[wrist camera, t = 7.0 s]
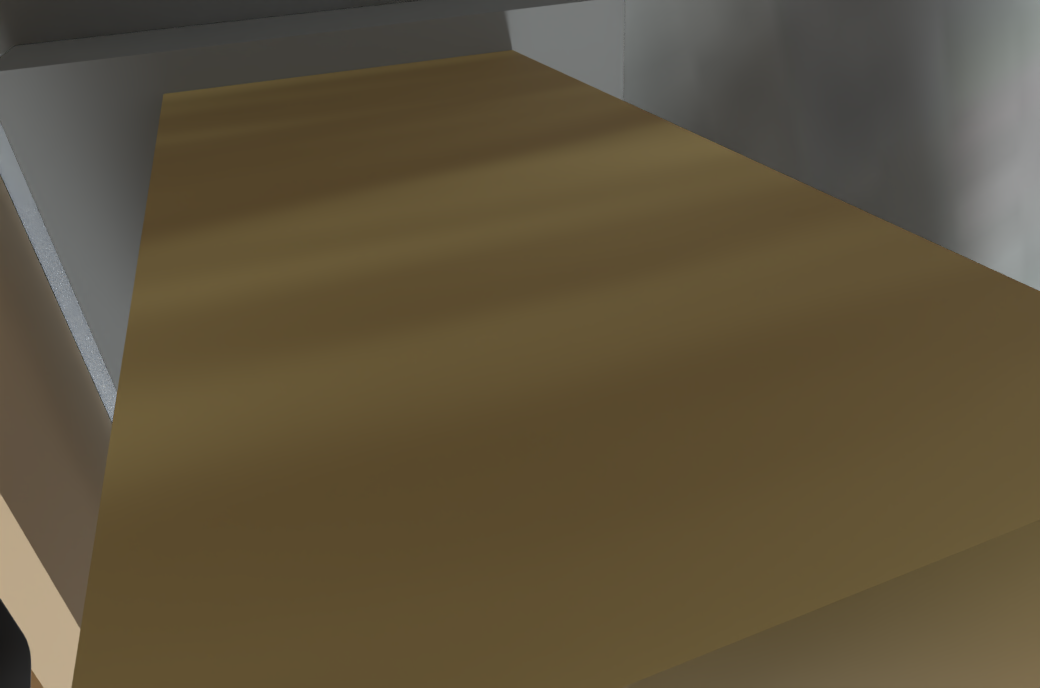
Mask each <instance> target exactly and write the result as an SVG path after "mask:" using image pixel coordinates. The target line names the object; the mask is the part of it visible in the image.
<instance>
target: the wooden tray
mask: <svg viewBox="0 0 1040 688" xmlns="http://www.w3.org/2000/svg"><path fill="white" fill-rule="evenodd" d="M111 429H112V423H111V421H110V418H109V416H108V414H107V412H106V409H105V407H104V405H103V403H102V401H101V398H100V396H99V394H98V392H97V389H96V387H95V385H94V383H93V381H92V378H91V376H90V374H89V372H88V369H87V367H86V365H85V363H84V361H83V358H82V356H81V354H80V352H79V349H78V347H77V345H76V343H75V340H74V338H73V336H72V334H71V332H70V329H69V327H68V325H67V323H66V320H65V318H64V316H63V314H62V312H61V309H60V307H59V305H58V303H57V300H56V298H55V296H54V294H53V292H52V289H51V287H50V285H49V283H48V280H47V278H46V276H45V274H44V272H43V269H42V267H41V265H40V263H39V260H38V258H37V256H36V254H35V252H34V249H33V247H32V245H31V243H30V240H29V238H28V236H27V234H26V231H25V229H24V227H23V225H22V223H21V220H20V218H19V216H18V214H17V211H16V209H15V207H14V205H13V203H12V200H11V198H10V196H9V194H8V191H7V189H6V187H5V185H4V183H3V180H2V178H1V176H0V599H1V600H2V602H3V603H4V605H5V606H6V608H7V609H8V611H9V612H10V614H11V615H12V617H13V618H14V620H15V621H16V623H17V625H18V626H19V628H20V629H21V631H22V632H23V634H24V635H25V637H26V639H27V642H28V645H29V648H30V653H31V688H71V687H72V681H73V674H74V668H75V661H76V655H77V648H78V642H79V636H80V629H81V623H82V616H83V610H84V603H85V597H86V590H87V584H88V577H89V571H90V565H91V558H92V552H93V545H94V539H95V532H96V526H97V519H98V513H99V506H100V500H101V494H102V487H103V481H104V474H105V468H106V461H107V455H108V448H109V442H110V435H111Z"/></svg>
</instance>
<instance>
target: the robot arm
mask: <svg viewBox="0 0 1040 688" xmlns="http://www.w3.org/2000/svg"><path fill="white" fill-rule="evenodd" d="M0 688H31V653H30V648H29V645H28V642H27V639H26V637H25V635H24V634H23V632H22V631H21V629H20V628H19V626H18V625H17V623H16V621H15V620H14V618H13V617H12V615H11V614H10V612H9V611H8V609H7V608H6V606H5V605H4V603H3V602H2V600H1V599H0Z"/></svg>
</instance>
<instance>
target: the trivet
mask: <svg viewBox="0 0 1040 688" xmlns="http://www.w3.org/2000/svg"><path fill="white" fill-rule="evenodd" d="M624 30H625V0H419V1H410V2H401V3H393V4H384V5H375V6H366V7H357V8H348V9H339V10H330V11H321V12H312V13H303V14H294V15H285V16H276V17H267V18H259V19H250V20H241V21H232V22H223V23H214V24H205V25H196V26H187V27H178V28H169V29H160V30H151V31H142V32H133V33H124V34H116V35H107V36H98V37H89V38H80V39H71V40H62V41H53V42H44V43H35V44H26V45H17V46H14V47H13V48H11V49H10V50H9V51H8V52H6V53H5V54H4V55H3V56H1V57H0V122H1V124H2V127H3V129H4V131H5V134H6V136H7V138H8V141H9V143H10V145H11V148H12V150H13V152H14V155H15V157H16V159H17V162H18V164H19V166H20V168H21V171H22V173H23V175H24V178H25V180H26V182H27V185H28V187H29V189H30V192H31V194H32V196H33V199H34V201H35V203H36V205H37V208H38V210H39V212H40V215H41V217H42V219H43V222H44V224H45V226H46V229H47V231H48V233H49V236H50V238H51V240H52V243H53V245H54V247H55V249H56V252H57V254H58V256H59V259H60V261H61V263H62V266H63V268H64V270H65V273H66V275H67V277H68V280H69V282H70V284H71V286H72V289H73V291H74V293H75V296H76V298H77V300H78V303H79V305H80V307H81V310H82V312H83V314H84V317H85V319H86V321H87V324H88V326H89V328H90V330H91V333H92V335H93V337H94V340H95V342H96V344H97V347H98V349H99V351H100V354H101V356H102V358H103V361H104V363H105V365H106V367H107V370H108V372H109V374H110V377H111V379H112V381H113V384H114V386H115V388H116V391H117V390H118V384H119V377H120V371H121V365H122V358H123V352H124V345H125V339H126V332H127V326H128V319H129V313H130V306H131V300H132V294H133V287H134V281H135V274H136V268H137V261H138V255H139V248H140V242H141V235H142V229H143V223H144V216H145V210H146V203H147V197H148V190H149V184H150V177H151V171H152V165H153V158H154V152H155V145H156V139H157V132H158V126H159V119H160V113H161V106H162V100H163V94H167V93H175V92H183V91H191V90H199V89H207V88H215V87H223V86H231V85H238V84H246V83H254V82H262V81H270V80H278V79H286V78H294V77H302V76H310V75H318V74H326V73H334V72H342V71H349V70H357V69H365V68H373V67H381V66H389V65H397V64H405V63H413V62H421V61H429V60H437V59H445V58H453V57H460V56H468V55H476V54H484V53H492V52H500V51H508V50H514V51H516V52H518V53H520V54H522V55H524V56H527V57H529V58H531V59H533V60H535V61H538V62H540V63H542V64H544V65H546V66H549V67H551V68H553V69H555V70H557V71H559V72H562V73H564V74H566V75H568V76H570V77H573V78H575V79H577V80H579V81H581V82H583V83H586V84H588V85H590V86H592V87H594V88H597V89H599V90H601V91H603V92H605V93H608V94H610V95H612V96H614V97H616V98H618V99H621V100H623V91H624Z"/></svg>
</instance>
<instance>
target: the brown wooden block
mask: <svg viewBox="0 0 1040 688" xmlns="http://www.w3.org/2000/svg"><path fill="white" fill-rule="evenodd" d="M71 688H1040V291H1038V290H1036V289H1034V288H1032V287H1029V286H1027V285H1025V284H1023V283H1021V282H1018V281H1016V280H1014V279H1012V278H1010V277H1007V276H1005V275H1003V274H1001V273H999V272H997V271H994V270H992V269H990V268H988V267H986V266H983V265H981V264H979V263H977V262H975V261H973V260H970V259H968V258H966V257H964V256H962V255H959V254H957V253H955V252H953V251H951V250H948V249H946V248H944V247H942V246H940V245H938V244H935V243H933V242H931V241H929V240H927V239H924V238H922V237H920V236H918V235H916V234H913V233H911V232H909V231H907V230H905V229H903V228H900V227H898V226H896V225H894V224H892V223H889V222H887V221H885V220H883V219H881V218H879V217H876V216H874V215H872V214H870V213H868V212H865V211H863V210H861V209H859V208H857V207H854V206H852V205H850V204H848V203H846V202H844V201H841V200H839V199H837V198H835V197H833V196H830V195H828V194H826V193H824V192H822V191H820V190H817V189H815V188H813V187H811V186H809V185H806V184H804V183H802V182H800V181H798V180H795V179H793V178H791V177H789V176H787V175H785V174H782V173H780V172H778V171H776V170H774V169H771V168H769V167H767V166H765V165H763V164H761V163H758V162H756V161H754V160H752V159H750V158H747V157H745V156H743V155H741V154H739V153H736V152H734V151H732V150H730V149H728V148H726V147H723V146H721V145H719V144H717V143H715V142H712V141H710V140H708V139H706V138H704V137H701V136H699V135H697V134H695V133H693V132H691V131H688V130H686V129H684V128H682V127H680V126H677V125H675V124H673V123H671V122H669V121H667V120H664V119H662V118H660V117H658V116H656V115H653V114H651V113H649V112H647V111H645V110H642V109H640V108H638V107H636V106H634V105H632V104H629V103H627V102H625V101H623V100H621V99H618V98H616V97H614V96H612V95H610V94H608V93H605V92H603V91H601V90H599V89H597V88H594V87H592V86H590V85H588V84H586V83H583V82H581V81H579V80H577V79H575V78H573V77H570V76H568V75H566V74H564V73H562V72H559V71H557V70H555V69H553V68H551V67H549V66H546V65H544V64H542V63H540V62H538V61H535V60H533V59H531V58H529V57H527V56H524V55H522V54H520V53H518V52H516V51H514V50H508V51H500V52H492V53H484V54H476V55H468V56H460V57H453V58H445V59H437V60H429V61H421V62H413V63H405V64H397V65H389V66H381V67H373V68H365V69H357V70H349V71H342V72H334V73H326V74H318V75H310V76H302V77H294V78H286V79H278V80H270V81H262V82H254V83H246V84H238V85H231V86H223V87H215V88H207V89H199V90H191V91H183V92H175V93H167V94H163V100H162V106H161V113H160V119H159V126H158V132H157V139H156V145H155V152H154V158H153V165H152V171H151V177H150V184H149V190H148V197H147V203H146V210H145V216H144V223H143V229H142V235H141V242H140V248H139V255H138V261H137V268H136V274H135V281H134V287H133V294H132V300H131V306H130V313H129V319H128V326H127V332H126V339H125V345H124V352H123V358H122V365H121V371H120V377H119V384H118V390H117V397H116V403H115V410H114V416H113V423H112V429H111V435H110V442H109V448H108V455H107V461H106V468H105V474H104V481H103V487H102V494H101V500H100V506H99V513H98V519H97V526H96V532H95V539H94V545H93V552H92V558H91V565H90V571H89V577H88V584H87V590H86V597H85V603H84V610H83V616H82V623H81V629H80V636H79V642H78V648H77V655H76V661H75V668H74V674H73V681H72V687H71Z"/></svg>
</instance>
